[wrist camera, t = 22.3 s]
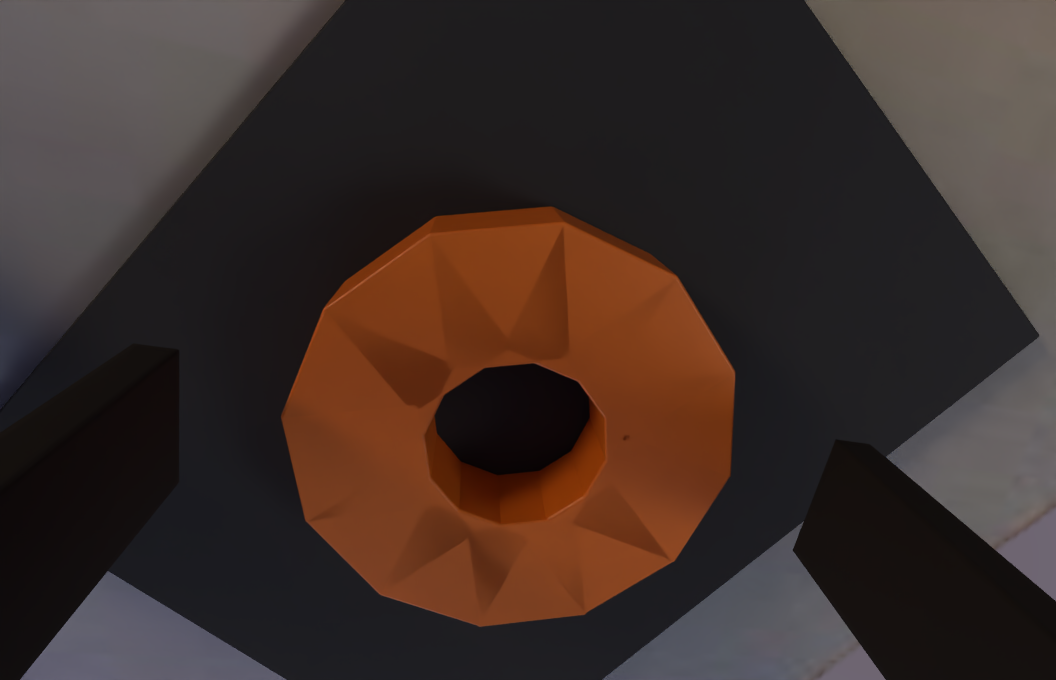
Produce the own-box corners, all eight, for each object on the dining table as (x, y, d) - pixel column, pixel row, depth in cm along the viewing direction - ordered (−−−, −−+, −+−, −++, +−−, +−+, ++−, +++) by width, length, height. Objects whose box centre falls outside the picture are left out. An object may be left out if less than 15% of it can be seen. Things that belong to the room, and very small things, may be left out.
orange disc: (568, 120, 13) (584, 122, 11) (765, 441, 15) (805, 486, 14) (226, 365, 14) (186, 405, 12) (469, 619, 17) (468, 684, 15)
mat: (590, -281, 11) (595, -299, 10) (1024, 329, 15) (1041, 335, 15) (-37, 462, 15) (-54, 473, 14) (464, 772, 19) (463, 788, 19)
